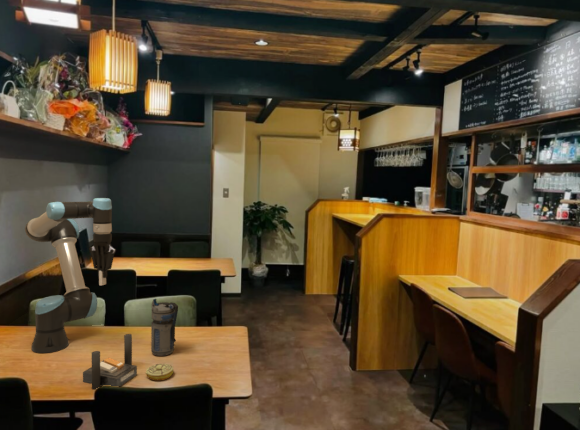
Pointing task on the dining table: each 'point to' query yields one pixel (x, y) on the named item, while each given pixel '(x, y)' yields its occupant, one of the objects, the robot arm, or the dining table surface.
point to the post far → (128, 349)
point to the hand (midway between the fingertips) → (102, 284)
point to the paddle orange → (113, 363)
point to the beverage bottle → (163, 327)
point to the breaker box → (112, 375)
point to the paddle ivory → (107, 367)
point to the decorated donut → (159, 372)
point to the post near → (95, 369)
